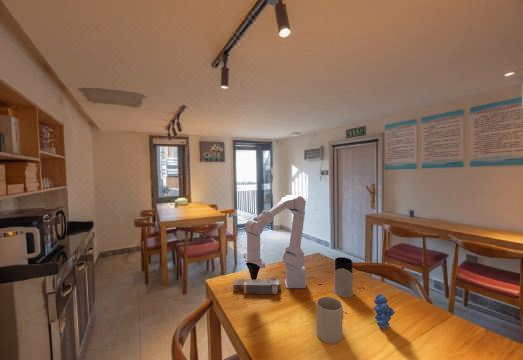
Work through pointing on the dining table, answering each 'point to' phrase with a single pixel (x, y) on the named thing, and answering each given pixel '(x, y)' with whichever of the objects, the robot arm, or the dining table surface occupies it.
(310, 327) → the dining table surface
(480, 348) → the dining table surface
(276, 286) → the stool leg
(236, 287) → the rail
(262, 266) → the robot arm
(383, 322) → the grapes
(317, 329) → the mug
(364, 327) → the dining table surface
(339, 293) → the glass holder
